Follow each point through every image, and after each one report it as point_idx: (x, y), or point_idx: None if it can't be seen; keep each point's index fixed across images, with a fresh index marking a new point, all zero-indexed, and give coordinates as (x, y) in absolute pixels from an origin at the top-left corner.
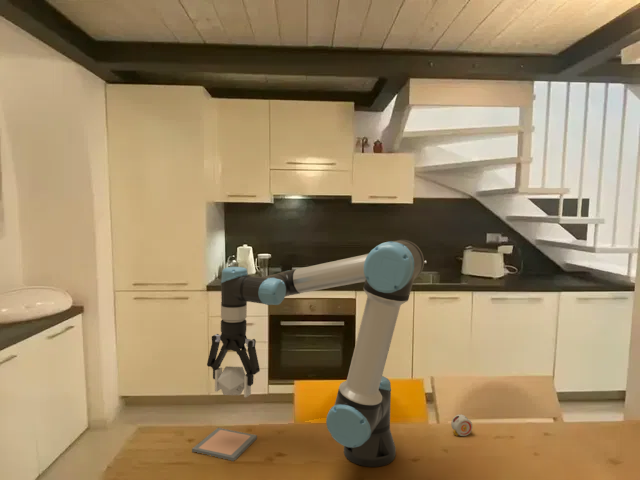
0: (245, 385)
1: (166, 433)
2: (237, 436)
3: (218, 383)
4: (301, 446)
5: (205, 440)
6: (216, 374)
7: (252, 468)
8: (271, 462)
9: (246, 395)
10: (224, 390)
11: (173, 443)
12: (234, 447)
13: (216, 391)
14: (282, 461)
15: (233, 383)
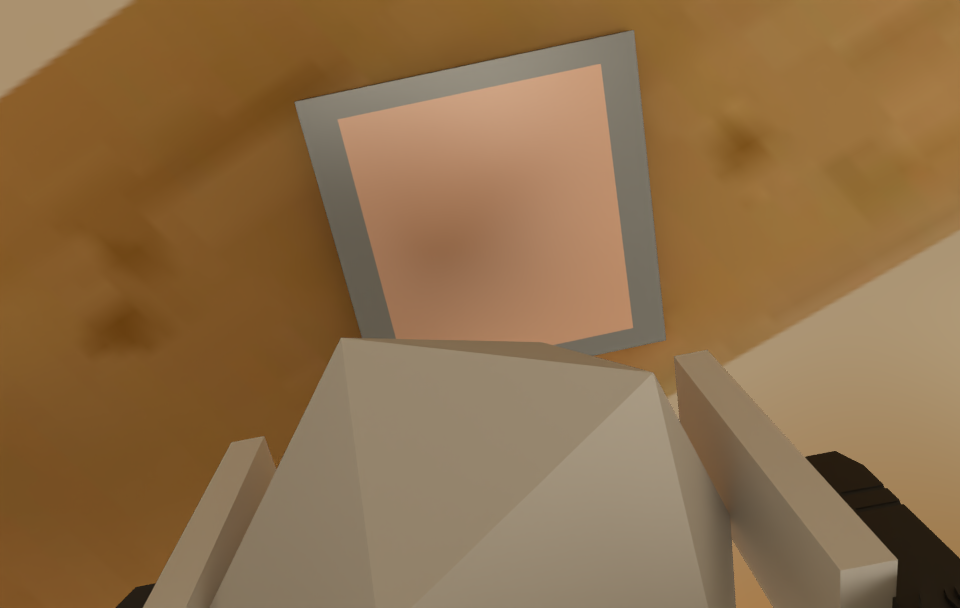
0: (186, 550)
1: (949, 121)
2: (476, 325)
3: (715, 441)
4: (90, 462)
5: (626, 169)
6: (808, 506)
7: (131, 102)
8: (91, 227)
9: (226, 461)
10: (498, 346)
11: (819, 47)
12: (391, 209)
13: (681, 355)
14: (46, 273)
15: (320, 456)
